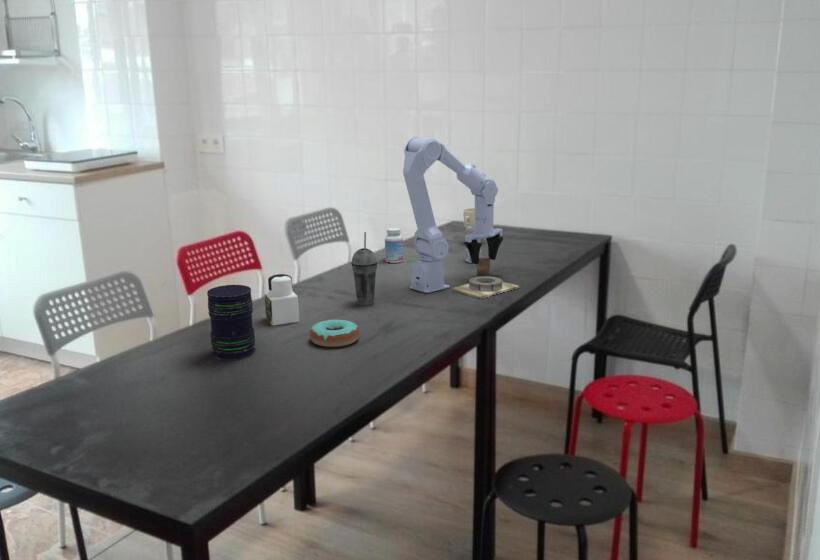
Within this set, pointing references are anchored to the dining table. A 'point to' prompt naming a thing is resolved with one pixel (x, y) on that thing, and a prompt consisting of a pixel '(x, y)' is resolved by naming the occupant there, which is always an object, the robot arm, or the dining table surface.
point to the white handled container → (281, 301)
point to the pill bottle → (393, 246)
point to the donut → (334, 333)
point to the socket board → (483, 294)
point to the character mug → (469, 217)
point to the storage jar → (231, 322)
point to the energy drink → (472, 229)
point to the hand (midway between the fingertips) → (483, 261)
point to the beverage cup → (364, 274)
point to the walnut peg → (483, 267)
